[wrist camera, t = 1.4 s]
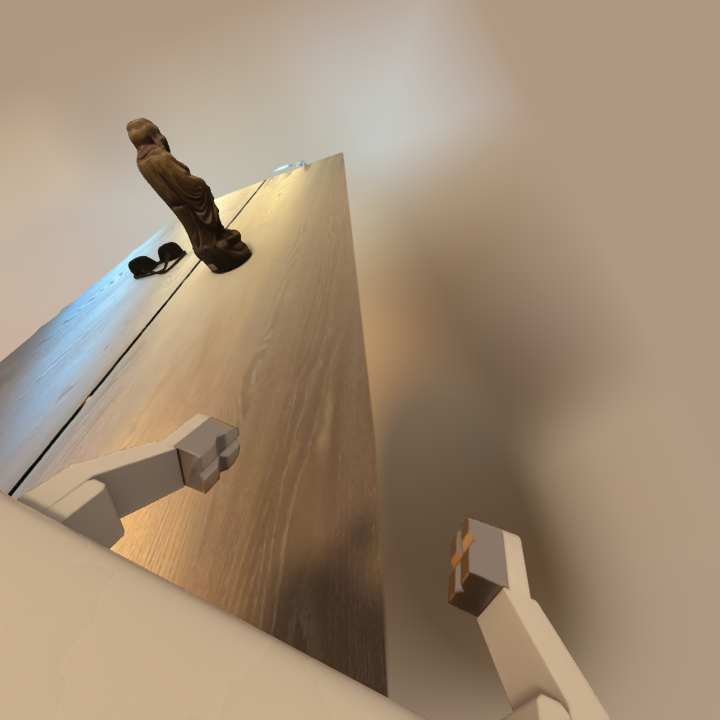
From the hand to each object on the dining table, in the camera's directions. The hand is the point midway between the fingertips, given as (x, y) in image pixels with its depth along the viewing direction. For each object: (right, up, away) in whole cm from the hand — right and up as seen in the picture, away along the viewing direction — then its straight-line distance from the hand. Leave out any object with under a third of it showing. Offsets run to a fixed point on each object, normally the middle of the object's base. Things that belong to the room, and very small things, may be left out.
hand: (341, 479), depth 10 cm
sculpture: (-32, +29, +65) cm, 78 cm away
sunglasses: (-58, +31, +78) cm, 102 cm away
